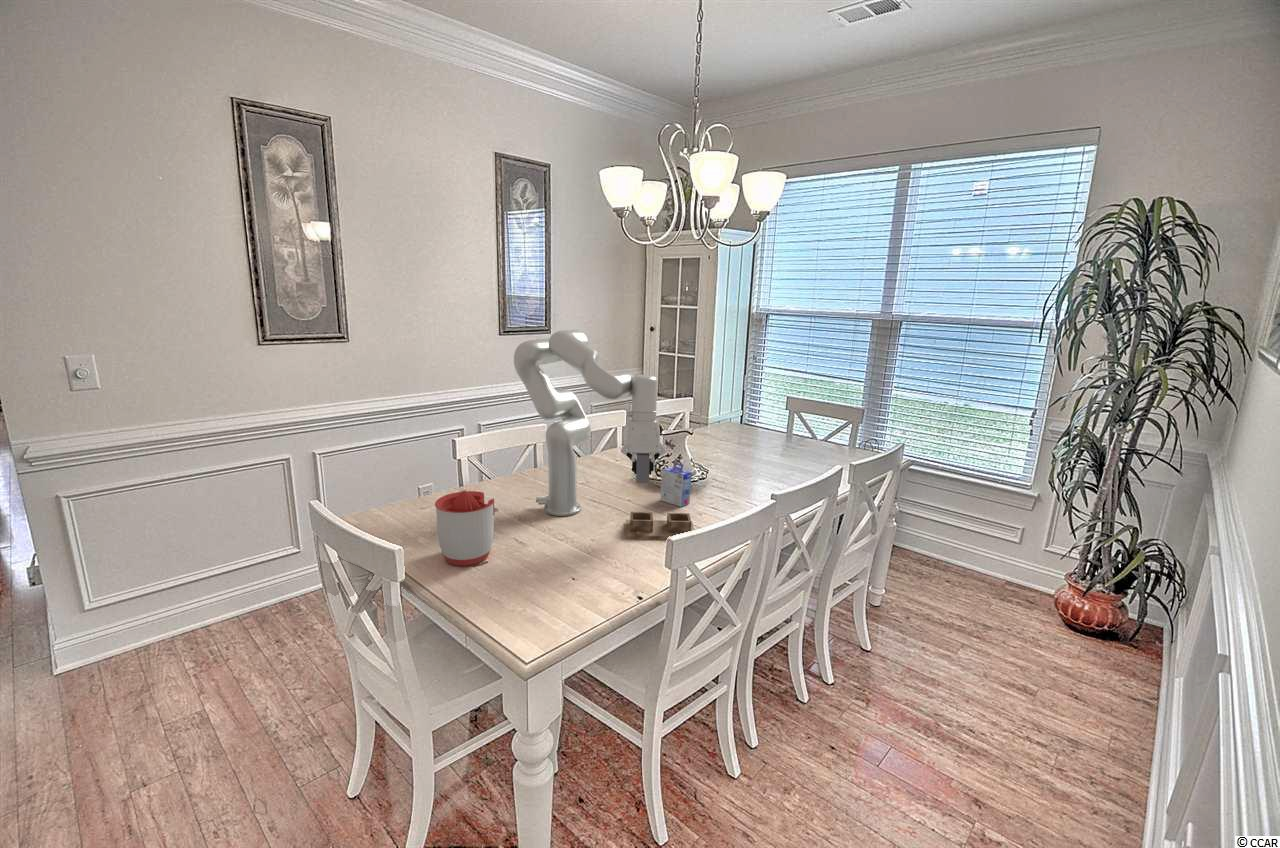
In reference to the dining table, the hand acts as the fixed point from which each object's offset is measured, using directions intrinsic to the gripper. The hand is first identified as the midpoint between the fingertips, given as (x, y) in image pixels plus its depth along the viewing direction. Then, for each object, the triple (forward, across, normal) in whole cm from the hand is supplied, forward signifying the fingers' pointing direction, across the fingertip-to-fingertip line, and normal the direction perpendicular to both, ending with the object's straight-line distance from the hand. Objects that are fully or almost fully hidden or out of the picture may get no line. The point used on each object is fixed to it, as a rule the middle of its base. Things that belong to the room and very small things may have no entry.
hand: (642, 472), depth 175 cm
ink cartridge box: (+20, +13, +26) cm, 35 cm away
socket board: (+20, +6, 0) cm, 21 cm away
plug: (+3, 0, 0) cm, 3 cm away
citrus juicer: (+19, -49, -20) cm, 56 cm away
